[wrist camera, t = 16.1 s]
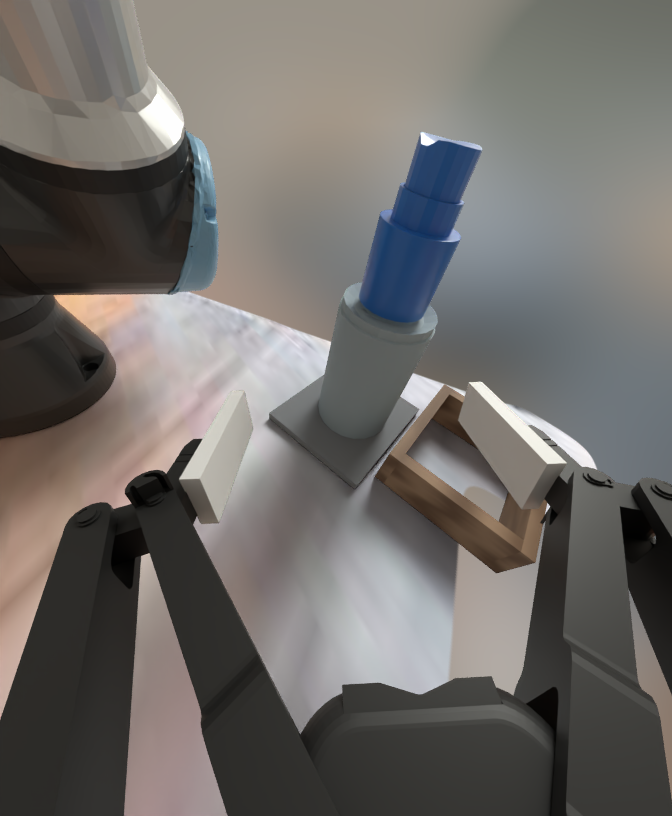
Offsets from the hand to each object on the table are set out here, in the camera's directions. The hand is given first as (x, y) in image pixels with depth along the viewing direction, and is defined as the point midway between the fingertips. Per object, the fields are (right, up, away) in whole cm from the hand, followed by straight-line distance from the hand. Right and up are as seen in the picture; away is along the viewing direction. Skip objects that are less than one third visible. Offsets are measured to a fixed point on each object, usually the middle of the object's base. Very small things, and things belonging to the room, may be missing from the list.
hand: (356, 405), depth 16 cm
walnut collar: (+13, -8, +16) cm, 22 cm away
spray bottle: (+1, -1, +18) cm, 18 cm away
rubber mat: (0, -1, +19) cm, 19 cm away
